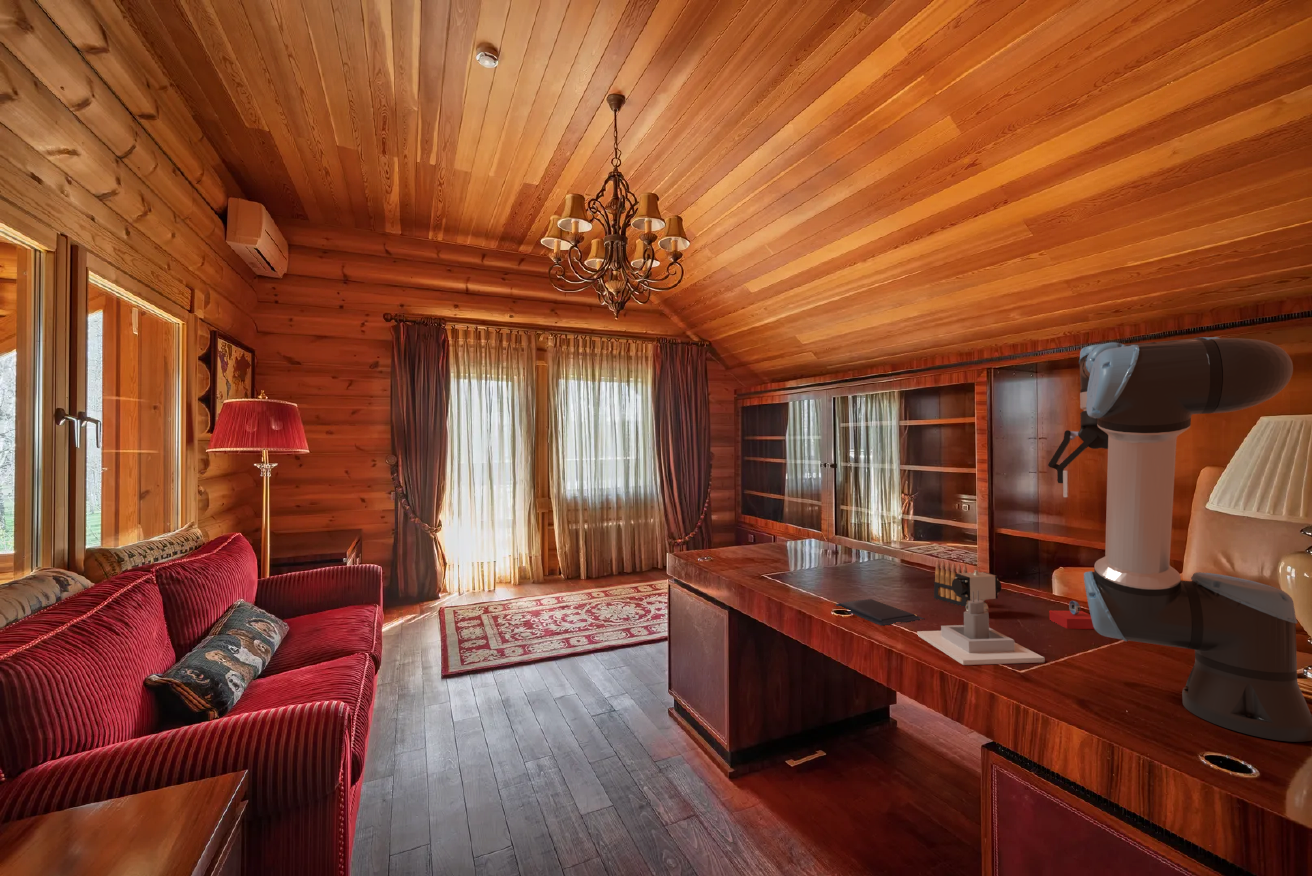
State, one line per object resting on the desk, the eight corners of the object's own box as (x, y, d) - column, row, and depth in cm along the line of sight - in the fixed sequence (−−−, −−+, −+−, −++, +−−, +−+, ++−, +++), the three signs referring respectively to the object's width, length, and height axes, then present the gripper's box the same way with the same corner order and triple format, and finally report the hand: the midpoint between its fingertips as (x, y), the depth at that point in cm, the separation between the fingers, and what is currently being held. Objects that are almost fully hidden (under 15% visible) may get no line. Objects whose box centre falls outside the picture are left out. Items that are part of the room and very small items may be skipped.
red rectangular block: (1081, 621, 141) (1081, 597, 141) (1100, 630, 134) (1100, 605, 134) (1049, 621, 142) (1049, 597, 142) (1067, 629, 135) (1066, 604, 135)
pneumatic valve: (1002, 615, 146) (1001, 571, 146) (963, 618, 144) (962, 573, 144) (987, 609, 151) (986, 567, 151) (949, 612, 150) (948, 568, 150)
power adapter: (990, 643, 123) (989, 591, 123) (976, 647, 120) (975, 594, 121) (977, 639, 126) (976, 588, 126) (962, 643, 123) (961, 591, 123)
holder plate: (1044, 662, 114) (1044, 645, 114) (963, 665, 113) (962, 648, 113) (988, 633, 132) (987, 619, 132) (917, 635, 131) (917, 621, 131)
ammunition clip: (933, 598, 163) (932, 558, 163) (938, 597, 164) (937, 558, 164) (966, 607, 153) (965, 565, 154) (971, 606, 154) (970, 565, 154)
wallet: (831, 601, 157) (873, 595, 162) (831, 607, 157) (873, 602, 162) (880, 621, 138) (926, 615, 143) (880, 629, 138) (926, 622, 143)
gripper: (1171, 408, 123) (1173, 501, 122) (1038, 413, 139) (1039, 495, 138) (1173, 405, 117) (1175, 503, 116) (1035, 410, 134) (1035, 496, 133)
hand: (1101, 499), depth 127 cm, fingers open, 13 cm apart
